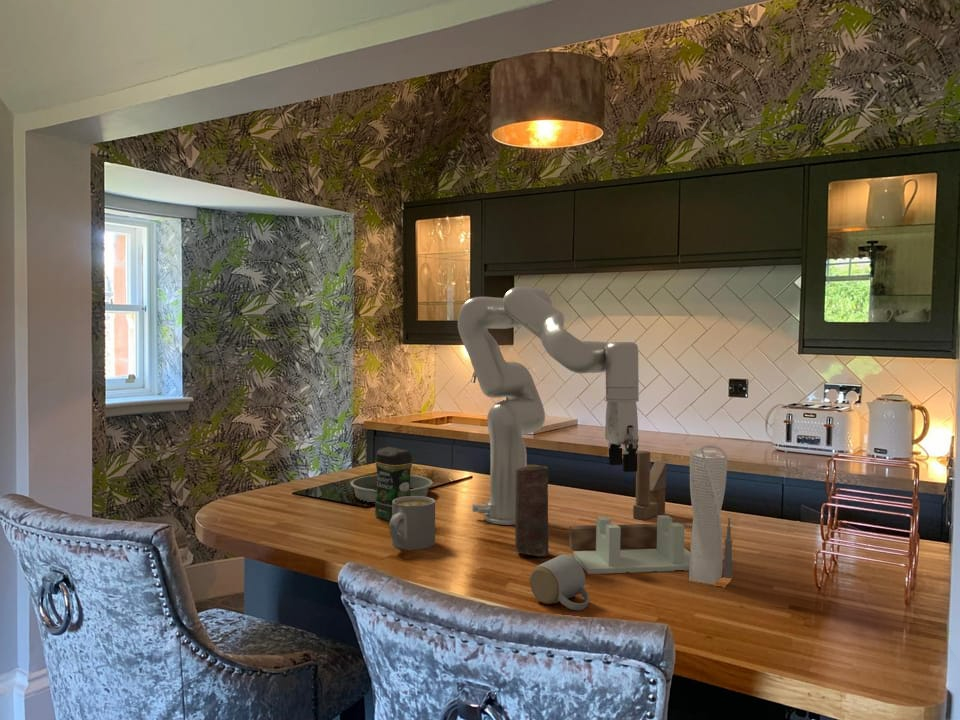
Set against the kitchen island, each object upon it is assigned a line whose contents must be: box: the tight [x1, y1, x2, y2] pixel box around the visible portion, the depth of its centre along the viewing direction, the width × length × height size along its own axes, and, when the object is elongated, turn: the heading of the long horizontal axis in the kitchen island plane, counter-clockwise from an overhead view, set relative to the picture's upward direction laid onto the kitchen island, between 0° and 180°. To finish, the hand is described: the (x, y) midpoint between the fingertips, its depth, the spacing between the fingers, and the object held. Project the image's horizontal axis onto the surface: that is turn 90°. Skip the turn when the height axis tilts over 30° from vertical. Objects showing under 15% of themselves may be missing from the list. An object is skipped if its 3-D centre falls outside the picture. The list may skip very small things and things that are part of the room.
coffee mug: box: [388, 496, 436, 551], centre depth 166 cm, size 13×10×10 cm
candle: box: [514, 463, 549, 558], centre depth 160 cm, size 8×7×20 cm
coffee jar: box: [374, 446, 413, 521], centre depth 190 cm, size 10×8×19 cm
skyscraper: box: [688, 445, 733, 585], centre depth 144 cm, size 8×8×28 cm
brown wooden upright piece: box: [632, 450, 667, 521], centre depth 195 cm, size 4×11×18 cm, turn 135°
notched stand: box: [572, 514, 690, 575], centre depth 155 cm, size 26×12×9 cm, turn 98°
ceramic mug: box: [529, 553, 590, 611], centre depth 132 cm, size 11×8×8 cm
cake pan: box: [349, 474, 434, 504], centre depth 216 cm, size 25×25×4 cm
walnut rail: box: [568, 523, 657, 551], centre depth 167 cm, size 24×2×5 cm, turn 98°
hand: (622, 468), depth 168 cm, fingers open, 9 cm apart
